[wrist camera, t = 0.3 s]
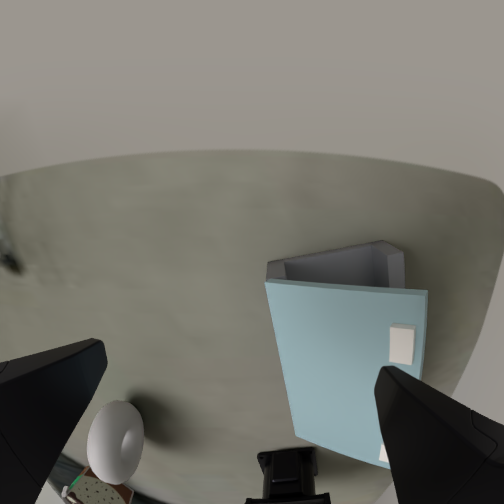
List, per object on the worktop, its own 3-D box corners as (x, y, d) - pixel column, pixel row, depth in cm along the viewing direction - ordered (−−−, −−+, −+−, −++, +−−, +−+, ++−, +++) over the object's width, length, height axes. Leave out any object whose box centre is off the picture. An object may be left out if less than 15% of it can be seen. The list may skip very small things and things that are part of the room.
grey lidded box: (385, 382, 23) (398, 408, 20) (294, 401, 25) (296, 431, 21) (382, 240, 21) (403, 252, 17) (267, 262, 22) (266, 279, 18)
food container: (71, 454, 32) (47, 491, 22) (88, 453, 31) (62, 494, 21) (120, 494, 34) (103, 531, 24) (140, 495, 33) (123, 535, 23)
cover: (402, 465, 14) (396, 475, 13) (300, 431, 21) (292, 438, 20) (427, 290, 11) (423, 299, 10) (270, 278, 18) (259, 284, 17)
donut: (153, 443, 28) (126, 503, 18) (128, 435, 28) (97, 491, 18) (143, 386, 26) (101, 455, 16) (114, 378, 26) (68, 440, 16)
